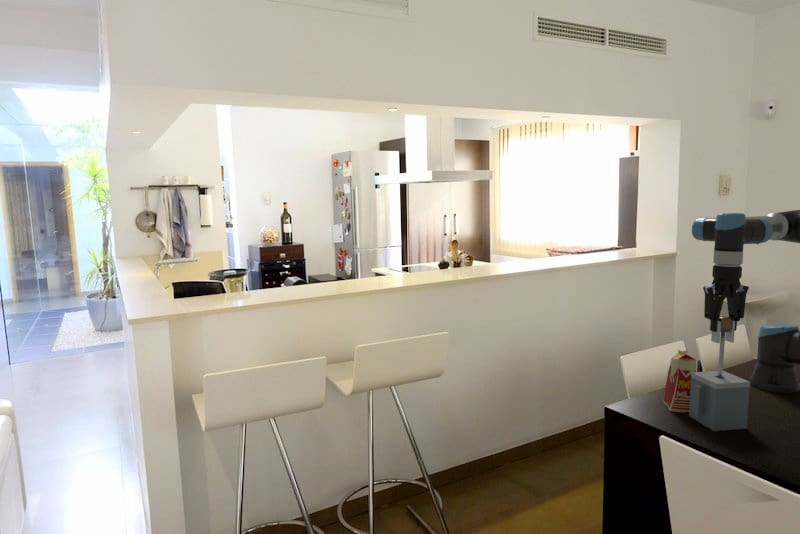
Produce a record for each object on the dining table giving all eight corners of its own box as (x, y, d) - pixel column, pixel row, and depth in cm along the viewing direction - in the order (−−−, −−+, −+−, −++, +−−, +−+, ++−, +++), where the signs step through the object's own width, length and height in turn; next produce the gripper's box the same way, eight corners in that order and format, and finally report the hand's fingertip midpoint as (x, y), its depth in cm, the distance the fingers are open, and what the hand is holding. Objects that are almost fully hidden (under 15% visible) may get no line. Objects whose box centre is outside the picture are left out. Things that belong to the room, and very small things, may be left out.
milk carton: (700, 413, 177) (704, 353, 174) (669, 411, 178) (672, 351, 176) (691, 403, 185) (695, 345, 183) (662, 401, 187) (665, 344, 185)
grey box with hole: (720, 414, 176) (723, 370, 174) (746, 428, 165) (750, 381, 163) (683, 417, 174) (685, 372, 172) (707, 431, 163) (710, 384, 161)
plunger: (721, 389, 173) (726, 314, 170) (740, 399, 165) (746, 320, 162) (697, 391, 172) (702, 315, 169) (716, 400, 164) (721, 321, 161)
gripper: (743, 263, 169) (738, 337, 171) (692, 264, 166) (688, 339, 169) (763, 265, 161) (757, 343, 164) (710, 267, 159) (705, 346, 161)
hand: (722, 341), depth 166 cm, fingers closed on plunger, 4 cm apart
